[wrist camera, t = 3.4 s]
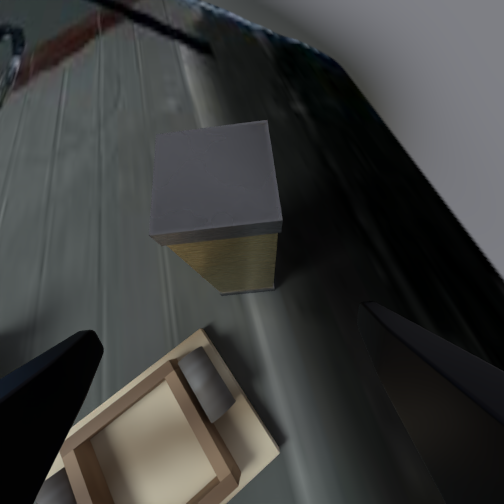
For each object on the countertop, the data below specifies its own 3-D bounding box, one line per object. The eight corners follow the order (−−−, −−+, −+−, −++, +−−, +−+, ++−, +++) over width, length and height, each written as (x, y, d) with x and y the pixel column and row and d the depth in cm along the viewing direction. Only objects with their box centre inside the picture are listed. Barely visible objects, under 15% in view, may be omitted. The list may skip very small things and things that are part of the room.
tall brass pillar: (274, 290, 20) (282, 220, 8) (222, 295, 20) (149, 235, 8) (268, 242, 21) (267, 119, 9) (219, 247, 22) (156, 134, 9)
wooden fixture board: (279, 447, 16) (281, 469, 13) (101, 613, 14) (61, 677, 11) (203, 328, 19) (192, 327, 17) (47, 448, 17) (7, 469, 14)
